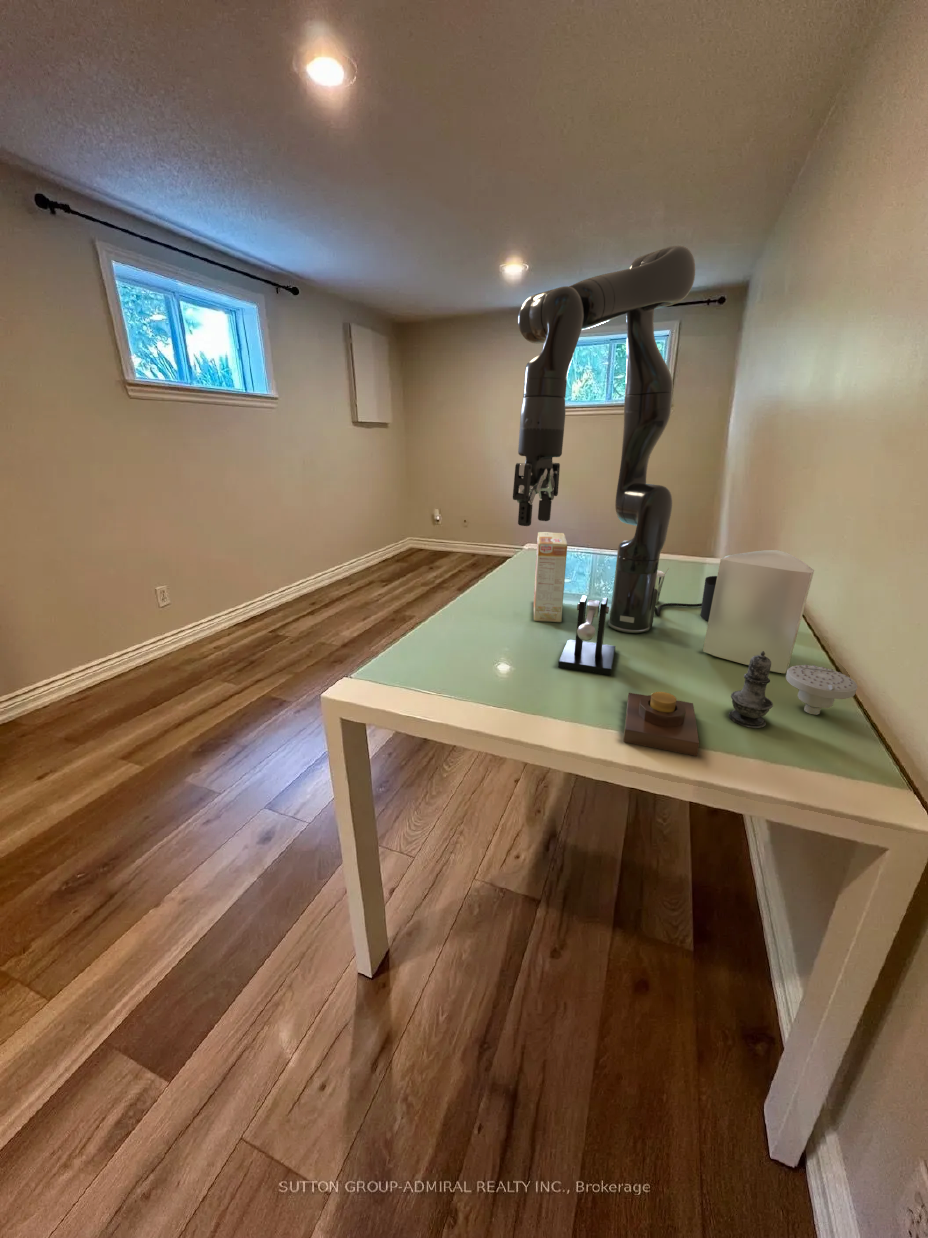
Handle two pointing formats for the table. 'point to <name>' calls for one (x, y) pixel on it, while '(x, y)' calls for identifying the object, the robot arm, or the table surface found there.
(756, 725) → the salt shaker
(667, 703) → the button
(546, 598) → the coffeecake box
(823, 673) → the showerhead
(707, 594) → the pen holder
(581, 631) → the lever
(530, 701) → the table surface
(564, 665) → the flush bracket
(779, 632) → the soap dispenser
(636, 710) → the button block
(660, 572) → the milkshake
